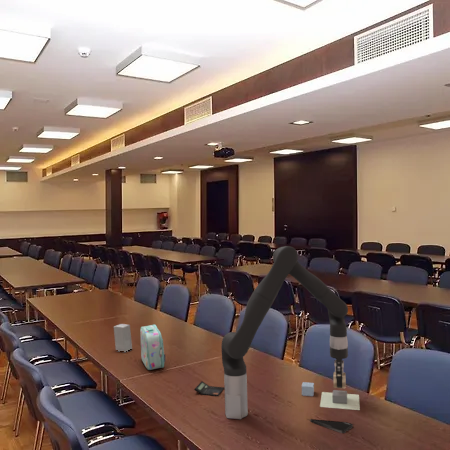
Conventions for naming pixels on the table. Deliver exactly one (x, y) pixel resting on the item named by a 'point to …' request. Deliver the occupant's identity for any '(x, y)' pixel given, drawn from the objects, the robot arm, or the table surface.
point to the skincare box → (122, 337)
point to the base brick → (339, 396)
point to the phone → (333, 425)
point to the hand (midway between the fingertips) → (339, 384)
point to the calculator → (208, 389)
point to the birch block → (342, 380)
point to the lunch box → (152, 347)
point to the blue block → (307, 389)
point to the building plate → (351, 403)
